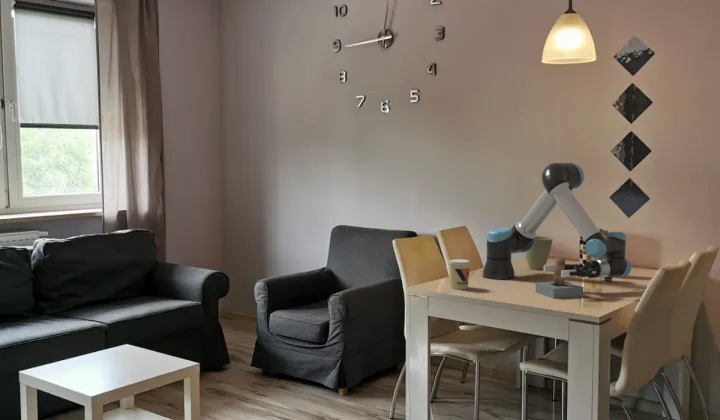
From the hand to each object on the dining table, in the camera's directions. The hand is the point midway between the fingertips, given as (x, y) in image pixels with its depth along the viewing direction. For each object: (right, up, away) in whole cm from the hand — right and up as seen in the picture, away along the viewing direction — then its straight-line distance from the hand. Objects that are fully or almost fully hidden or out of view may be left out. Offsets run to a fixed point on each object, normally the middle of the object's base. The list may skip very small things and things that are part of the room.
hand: (552, 271), depth 293 cm
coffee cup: (-37, -9, +15) cm, 41 cm away
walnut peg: (+3, -9, +2) cm, 10 cm away
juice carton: (+37, -7, +48) cm, 61 cm away
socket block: (+3, -10, +2) cm, 11 cm away
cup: (+35, -8, +32) cm, 48 cm away
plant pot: (+10, -5, +67) cm, 68 cm away
